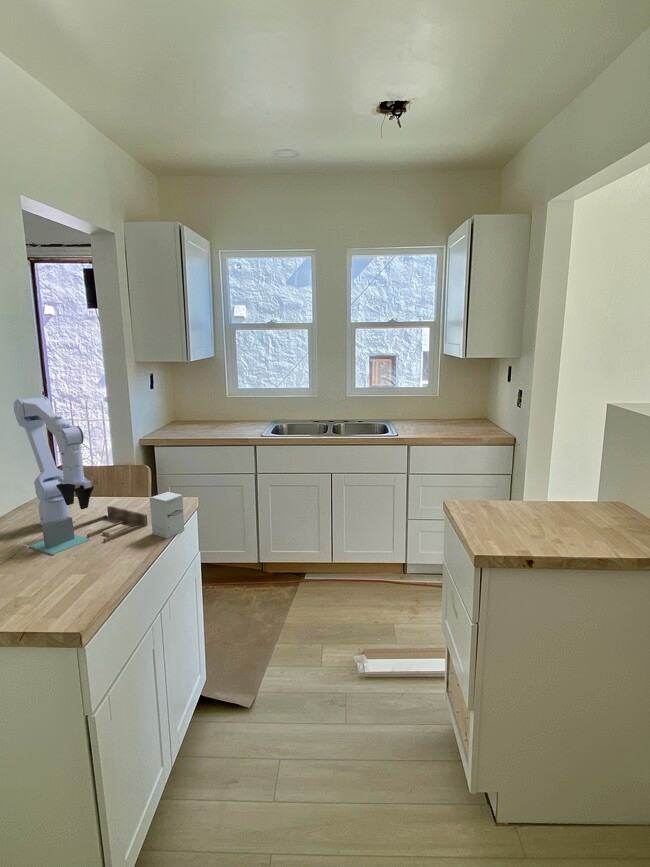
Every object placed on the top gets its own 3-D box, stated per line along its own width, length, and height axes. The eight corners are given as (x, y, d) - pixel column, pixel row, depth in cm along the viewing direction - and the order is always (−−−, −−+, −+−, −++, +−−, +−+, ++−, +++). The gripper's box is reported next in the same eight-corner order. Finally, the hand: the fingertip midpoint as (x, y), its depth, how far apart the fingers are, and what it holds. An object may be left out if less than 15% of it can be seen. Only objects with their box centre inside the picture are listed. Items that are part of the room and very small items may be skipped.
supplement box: (167, 539, 150) (164, 500, 148) (151, 534, 154) (148, 497, 152) (185, 531, 157) (183, 494, 154) (170, 527, 160) (167, 490, 158)
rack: (68, 532, 157) (66, 520, 156) (110, 516, 171) (109, 505, 170) (105, 543, 148) (104, 531, 147) (147, 526, 162) (146, 514, 161)
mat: (29, 547, 145) (29, 545, 145) (67, 533, 156) (66, 532, 156) (53, 555, 140) (52, 553, 140) (90, 540, 150) (90, 539, 150)
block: (44, 546, 145) (41, 524, 143) (69, 537, 151) (67, 516, 150) (49, 548, 143) (46, 526, 142) (74, 538, 150) (72, 517, 149)
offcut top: (102, 534, 154) (102, 531, 154) (120, 526, 160) (120, 524, 160) (112, 536, 152) (111, 533, 152) (129, 529, 158) (129, 526, 158)
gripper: (46, 465, 151) (51, 506, 154) (74, 471, 144) (79, 514, 147) (68, 460, 157) (72, 499, 160) (95, 465, 150) (99, 507, 153)
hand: (77, 506), depth 154 cm, fingers open, 7 cm apart
